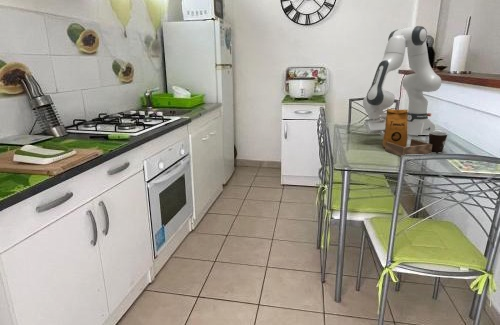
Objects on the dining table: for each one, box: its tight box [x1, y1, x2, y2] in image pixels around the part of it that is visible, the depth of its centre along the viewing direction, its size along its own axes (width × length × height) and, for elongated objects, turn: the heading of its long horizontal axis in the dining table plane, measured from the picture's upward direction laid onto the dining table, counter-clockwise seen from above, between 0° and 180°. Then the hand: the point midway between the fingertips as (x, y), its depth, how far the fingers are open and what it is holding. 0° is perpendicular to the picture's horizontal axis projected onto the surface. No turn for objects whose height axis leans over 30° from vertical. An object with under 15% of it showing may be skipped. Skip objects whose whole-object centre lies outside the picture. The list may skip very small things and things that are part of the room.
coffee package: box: [382, 108, 408, 148], centre depth 185 cm, size 10×12×22 cm
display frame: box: [384, 138, 432, 157], centre depth 179 cm, size 18×14×5 cm
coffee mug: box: [428, 131, 448, 153], centre depth 178 cm, size 12×9×10 cm
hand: (387, 137), depth 193 cm, fingers closed
